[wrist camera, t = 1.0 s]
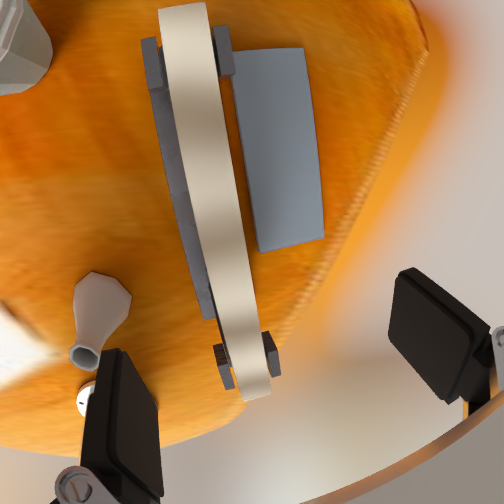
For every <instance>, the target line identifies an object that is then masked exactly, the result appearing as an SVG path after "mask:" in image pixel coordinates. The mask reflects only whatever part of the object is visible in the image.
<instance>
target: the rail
mask: <svg viewBox="0 0 504 504" xmlns="http://www.w3.org/2000/svg"><path fill="white" fill-rule="evenodd" d="M158 16H159V25H160V32H161V39H162V46H163V53H164V59H165V65H166V72H167V78H168V84H169V90H170V96H171V101H172V107H173V113H174V118H175V124H176V129H177V134H178V140H179V145H180V150H181V155H182V160H183V165H184V170H185V175H186V179H187V184H188V189H189V194H190V198H191V203H192V207H193V212H194V216H195V221H196V225H197V230H198V234H199V238H200V243H201V247H202V251H203V255H204V259H205V264H206V268H207V272H208V276H209V280H210V284H211V288H212V292H213V296H214V299H215V303H216V307H217V311H218V315H219V319H220V322H221V326H222V330H223V333H224V337H225V341H226V344H227V348H228V352H229V355H230V359H231V362H232V366H233V369H234V373H235V376H236V380H237V383H238V386H239V390H240V393H241V396H242V399H243V402H245V401H248V400H252V399H255V398H259V397H263V396H266V395H269V394H272V391H271V386H270V380H269V374H268V369H267V363H266V357H265V352H264V346H263V340H262V335H261V329H260V323H259V318H258V312H257V306H256V300H255V295H254V289H253V283H252V277H251V272H250V266H249V260H248V254H247V249H246V243H245V237H244V231H243V225H242V219H241V214H240V208H239V202H238V196H237V190H236V184H235V178H234V173H233V167H232V161H231V155H230V149H229V143H228V137H227V131H226V125H225V119H224V113H223V107H222V101H221V95H220V89H219V83H218V77H217V71H216V65H215V59H214V53H213V47H212V41H211V34H210V28H209V22H208V16H207V10H206V4H205V2H199V3H191V4H185V5H178V6H172V7H167V8H162V9H158Z"/></svg>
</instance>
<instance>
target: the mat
mask: <svg viewBox="0 0 504 504" xmlns="http://www.w3.org/2000/svg"><path fill="white" fill-rule="evenodd" d="M233 57H234V63H235V69H236V74H235V75H233V76H232V77H231V84H232V90H233V96H234V103H235V109H236V115H237V121H238V127H239V133H240V140H241V146H242V152H243V158H244V165H245V171H246V177H247V184H248V190H249V196H250V202H251V209H252V215H253V222H254V228H255V234H256V241H257V247H258V251H259V252H260V254H261V253H265V252H269V251H273V250H277V249H281V248H285V247H289V246H293V245H297V244H301V243H305V242H309V241H313V240H317V239H321V238H324V222H323V207H322V194H321V181H320V170H319V160H318V150H317V141H316V132H315V123H314V115H313V108H312V100H311V93H310V86H309V79H308V73H307V66H306V60H305V54H304V48H274V49H258V50H246V51H236V52H233Z"/></svg>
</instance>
